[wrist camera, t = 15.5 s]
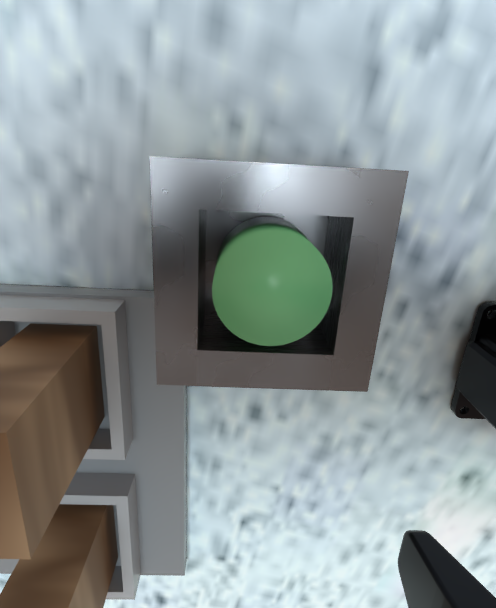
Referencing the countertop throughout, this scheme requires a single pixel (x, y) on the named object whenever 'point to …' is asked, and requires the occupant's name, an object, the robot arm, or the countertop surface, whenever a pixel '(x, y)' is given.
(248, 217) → the button box
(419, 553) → the robot arm
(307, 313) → the button
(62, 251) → the countertop surface
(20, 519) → the billet
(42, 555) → the billet
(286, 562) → the countertop surface
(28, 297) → the grey socket board
